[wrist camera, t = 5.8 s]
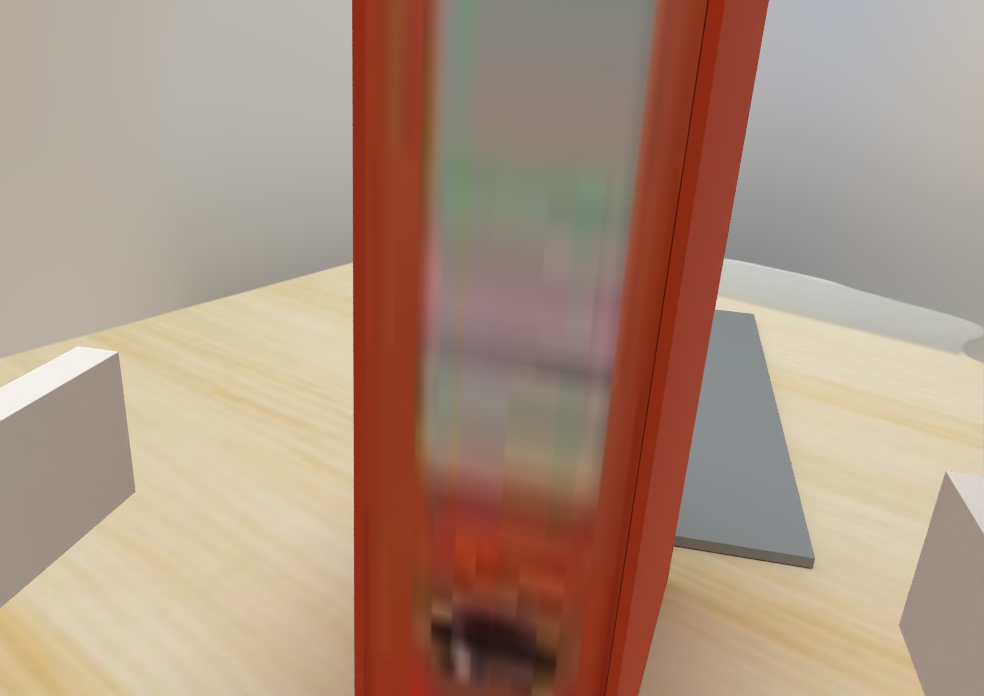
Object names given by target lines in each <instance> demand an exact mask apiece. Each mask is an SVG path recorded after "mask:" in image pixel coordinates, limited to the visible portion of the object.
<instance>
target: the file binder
mask: <svg viewBox="0 0 984 696" xmlns="http://www.w3.org/2000/svg"><path fill="white" fill-rule="evenodd" d="M768 2H769V0H352V22H353V23H352V30H353V32H352V38H353V39H352V42H353V43H352V47H353V48H352V50H353V53H352V54H353V55H352V57H353V353H354V649H355V696H638V693H639V689H640V685H641V681H642V677H643V673H644V669H645V665H646V661H647V657H648V653H649V649H650V645H651V642H652V638H653V634H654V630H655V626H656V622H657V618H658V614H659V610H660V606H661V602H662V598H663V594H664V590H665V586H666V583H667V579H668V574H669V569H670V563H671V557H672V552H673V546H674V540H675V534H676V529H677V523H678V517H679V511H680V506H681V500H682V494H683V489H684V483H685V477H686V471H687V466H688V460H689V454H690V448H691V443H692V437H693V431H694V426H695V420H696V414H697V408H698V403H699V397H700V391H701V386H702V380H703V374H704V368H705V363H706V357H707V351H708V345H709V340H710V334H711V328H712V323H713V317H714V311H715V305H716V300H717V294H718V288H719V283H720V277H721V271H722V265H723V260H724V254H725V248H726V242H727V237H728V231H729V225H730V220H731V214H732V208H733V202H734V196H735V191H736V185H737V179H738V173H739V168H740V162H741V157H742V151H743V145H744V139H745V134H746V128H747V122H748V116H749V111H750V105H751V99H752V93H753V87H754V82H755V76H756V71H757V65H758V59H759V53H760V47H761V42H762V36H763V30H764V25H765V19H766V14H767V7H768Z"/></svg>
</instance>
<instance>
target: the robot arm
mask: <svg viewBox="0 0 984 696" xmlns="http://www.w3.org/2000/svg"><path fill="white" fill-rule="evenodd" d="M134 492H135V484H134V476H133V468H132V460H131V451H130V443H129V435H128V427H127V419H126V411H125V402H124V394H123V386H122V378H121V370H120V362H119V354H118V352H115V351H108V350H101V349H94V348H87V347H80V346H77V347H76V348H74V349H72V350H70V351H68V352H66V353H64V354H63V355H61V356H59V357H57V358H55V359H53V360H51V361H49V362H48V363H46V364H44V365H42V366H40V367H38V368H36V369H35V370H33V371H31V372H29V373H27V374H25V375H23V376H21V377H20V378H18V379H16V380H14V381H12V382H10V383H8V384H6V385H5V386H3V387H1V388H0V608H1V607H2V606H3V605H4V604H5V603H7V602H8V601H9V600H10V599H11V598H12V597H14V596H15V595H16V594H17V593H18V592H19V591H21V590H22V589H23V588H24V587H25V586H26V585H28V584H29V583H30V582H31V581H32V580H33V579H35V578H36V577H37V576H38V575H39V574H40V573H41V572H43V571H44V570H45V569H46V568H47V567H48V566H50V565H51V564H52V563H53V562H54V561H55V560H57V559H58V558H59V557H60V556H61V555H62V554H64V553H65V552H66V551H67V550H68V549H69V548H71V547H72V546H73V545H74V544H75V543H76V542H77V541H79V540H80V539H81V538H82V537H83V536H84V535H86V534H87V533H88V532H89V531H90V530H91V529H93V528H94V527H95V526H96V525H97V524H98V523H100V522H101V521H102V520H103V519H104V518H105V517H107V516H108V515H109V514H110V513H111V512H112V511H114V510H115V509H116V508H117V507H118V506H119V505H120V504H122V503H123V502H124V501H125V500H126V499H127V498H129V497H130V496H131V495H132V494H133V493H134ZM899 626H900V629H901V632H902V634H903V637H904V640H905V642H906V645H907V648H908V651H909V653H910V656H911V659H912V661H913V664H914V667H915V669H916V672H917V675H918V678H919V680H920V683H921V686H922V688H923V691H924V694H925V696H984V476H978V475H971V474H964V473H957V472H950V471H946V472H945V475H944V479H943V482H942V485H941V489H940V492H939V495H938V498H937V502H936V505H935V508H934V512H933V515H932V518H931V522H930V525H929V528H928V531H927V535H926V538H925V541H924V545H923V548H922V551H921V555H920V558H919V561H918V564H917V568H916V571H915V574H914V578H913V581H912V584H911V588H910V591H909V594H908V597H907V601H906V604H905V607H904V611H903V614H902V617H901V620H900V624H899Z"/></svg>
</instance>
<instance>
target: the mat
mask: <svg viewBox="0 0 984 696" xmlns="http://www.w3.org/2000/svg"><path fill="white" fill-rule="evenodd" d="M674 546H680V547H686V548H692V549H698V550H704V551H710V552H716V553H723V554H729V555H735V556H741V557H747V558H753V559H759V560H765V561H771V562H777V563H783V564H789V565H795V566H801V567H807V568H813V564H814V560H815V557H814V553H813V549H812V545H811V541H810V537H809V533H808V529H807V525H806V521H805V517H804V513H803V509H802V505H801V501H800V497H799V493H798V489H797V485H796V481H795V477H794V473H793V469H792V465H791V461H790V457H789V453H788V449H787V445H786V441H785V437H784V433H783V429H782V425H781V421H780V417H779V413H778V409H777V405H776V401H775V397H774V393H773V389H772V385H771V381H770V377H769V373H768V369H767V365H766V361H765V357H764V353H763V349H762V345H761V341H760V337H759V333H758V329H757V325H756V321H755V318H754V314H748V313H739V312H731V311H722V310H715V311H714V317H713V323H712V328H711V334H710V340H709V345H708V351H707V357H706V363H705V368H704V374H703V380H702V386H701V391H700V397H699V403H698V408H697V414H696V420H695V426H694V431H693V437H692V443H691V448H690V454H689V460H688V466H687V471H686V477H685V483H684V489H683V494H682V500H681V506H680V511H679V517H678V523H677V529H676V534H675V540H674Z"/></svg>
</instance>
